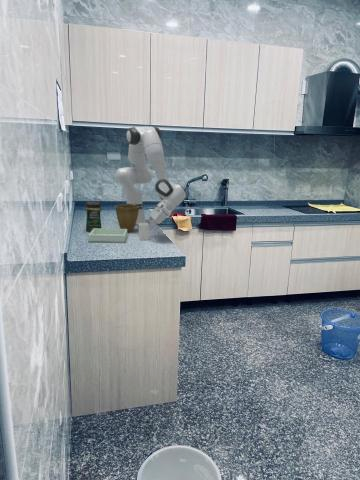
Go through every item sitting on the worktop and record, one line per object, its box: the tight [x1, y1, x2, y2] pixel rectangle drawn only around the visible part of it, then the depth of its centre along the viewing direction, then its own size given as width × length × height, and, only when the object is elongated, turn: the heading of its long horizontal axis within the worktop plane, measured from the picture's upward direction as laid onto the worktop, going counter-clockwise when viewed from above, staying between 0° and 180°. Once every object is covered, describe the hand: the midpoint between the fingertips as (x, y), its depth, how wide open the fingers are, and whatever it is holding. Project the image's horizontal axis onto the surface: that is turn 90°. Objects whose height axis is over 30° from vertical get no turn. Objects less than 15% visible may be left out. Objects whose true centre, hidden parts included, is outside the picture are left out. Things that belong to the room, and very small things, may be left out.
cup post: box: [138, 223, 150, 241], centre depth 208 cm, size 5×5×9 cm
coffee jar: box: [85, 201, 102, 232], centre depth 224 cm, size 10×8×19 cm
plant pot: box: [114, 204, 139, 233], centre depth 226 cm, size 15×15×16 cm
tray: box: [87, 228, 128, 244], centre depth 206 cm, size 18×20×4 cm
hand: (147, 225), depth 207 cm, fingers open, 8 cm apart
